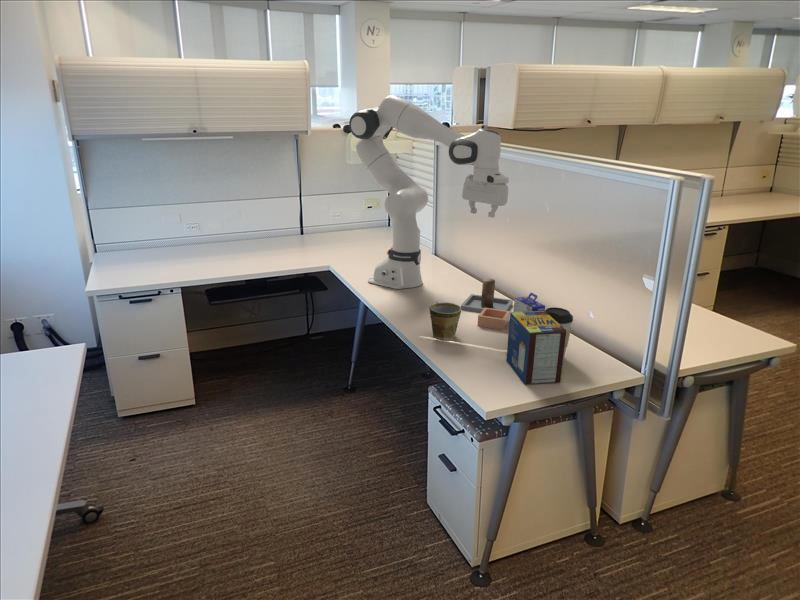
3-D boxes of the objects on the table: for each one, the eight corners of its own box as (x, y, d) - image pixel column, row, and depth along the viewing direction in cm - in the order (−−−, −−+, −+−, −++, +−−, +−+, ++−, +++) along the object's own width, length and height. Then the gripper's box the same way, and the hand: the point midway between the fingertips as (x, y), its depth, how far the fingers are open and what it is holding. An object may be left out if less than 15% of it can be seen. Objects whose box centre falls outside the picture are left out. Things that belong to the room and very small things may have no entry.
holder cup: (477, 327, 191) (478, 316, 190) (483, 318, 199) (484, 307, 197) (503, 331, 188) (504, 320, 186) (509, 322, 196) (510, 311, 194)
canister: (479, 307, 207) (481, 281, 204) (482, 303, 211) (484, 277, 208) (491, 309, 206) (493, 282, 202) (494, 305, 209) (496, 279, 206)
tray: (460, 310, 205) (460, 305, 204) (470, 299, 217) (471, 294, 217) (504, 317, 200) (504, 312, 199) (512, 305, 212) (512, 300, 211)
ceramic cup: (464, 341, 180) (466, 311, 176) (434, 344, 177) (435, 314, 173) (449, 326, 191) (450, 298, 188) (421, 328, 189) (422, 300, 185)
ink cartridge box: (542, 341, 181) (547, 298, 176) (527, 344, 179) (532, 300, 174) (524, 330, 189) (528, 288, 184) (510, 332, 187) (513, 290, 182)
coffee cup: (545, 348, 176) (550, 302, 171) (572, 356, 171) (579, 309, 166) (531, 357, 169) (536, 310, 164) (560, 366, 164) (566, 318, 159)
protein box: (538, 358, 169) (544, 309, 164) (560, 383, 155) (567, 330, 149) (505, 360, 167) (509, 311, 162) (524, 385, 153) (529, 332, 148)
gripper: (459, 173, 209) (456, 211, 213) (499, 179, 193) (495, 219, 197) (472, 173, 212) (469, 210, 216) (512, 178, 196) (508, 218, 200)
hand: (482, 215), depth 206 cm, fingers open, 8 cm apart
